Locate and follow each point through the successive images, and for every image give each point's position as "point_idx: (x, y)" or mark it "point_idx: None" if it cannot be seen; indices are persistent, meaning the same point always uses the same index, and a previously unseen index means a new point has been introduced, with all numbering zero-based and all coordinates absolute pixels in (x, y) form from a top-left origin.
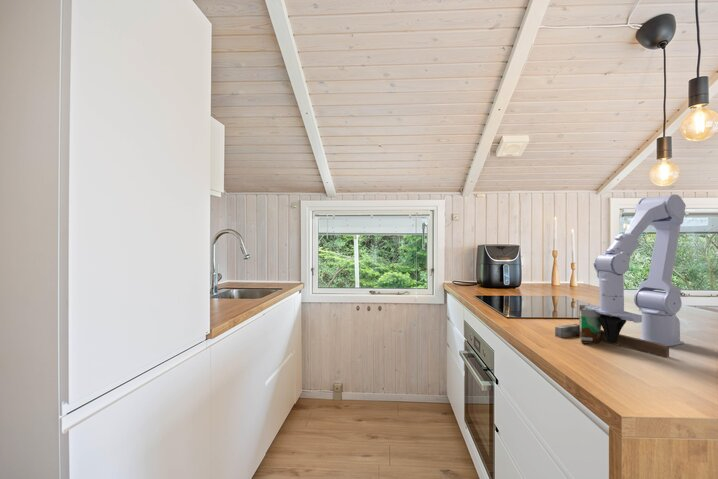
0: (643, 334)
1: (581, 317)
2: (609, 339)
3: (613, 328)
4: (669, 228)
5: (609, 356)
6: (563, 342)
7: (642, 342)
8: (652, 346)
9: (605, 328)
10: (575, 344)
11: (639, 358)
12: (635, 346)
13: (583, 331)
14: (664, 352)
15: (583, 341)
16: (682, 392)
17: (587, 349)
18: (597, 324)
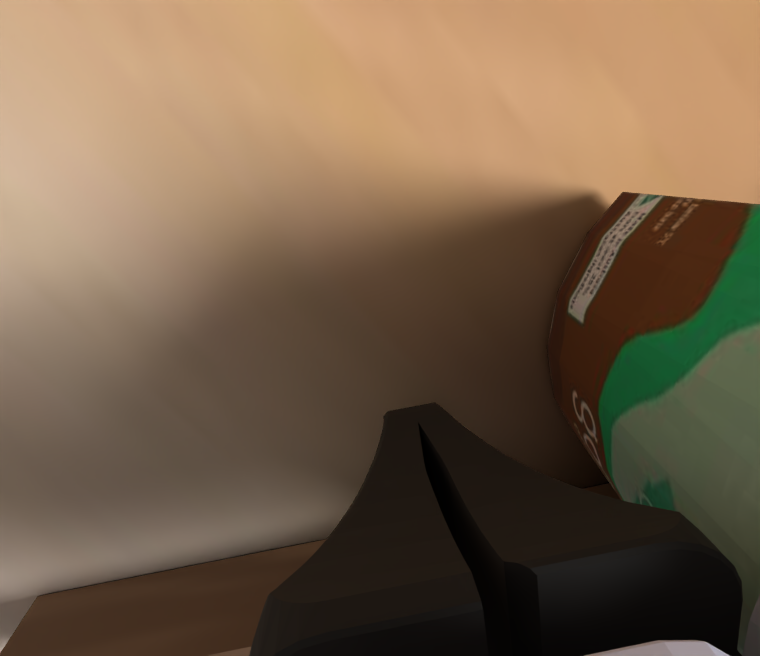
0: None
1: None
2: (411, 418)
3: (339, 525)
4: None
5: (121, 93)
6: (751, 7)
7: (206, 639)
8: (115, 643)
9: (482, 476)
10: (627, 97)
11: (29, 367)
12: (283, 571)
13: (700, 228)
14: (19, 635)
15: (612, 211)
16: None
17: (420, 66)
18: (673, 501)
